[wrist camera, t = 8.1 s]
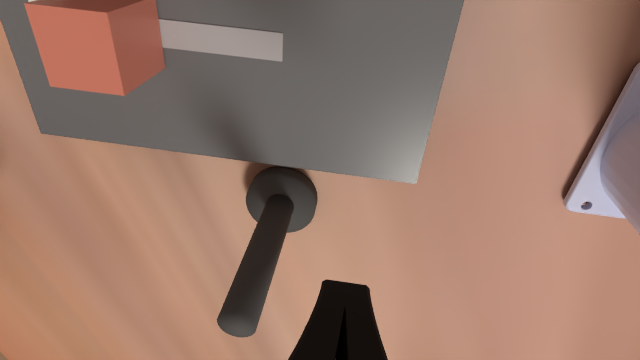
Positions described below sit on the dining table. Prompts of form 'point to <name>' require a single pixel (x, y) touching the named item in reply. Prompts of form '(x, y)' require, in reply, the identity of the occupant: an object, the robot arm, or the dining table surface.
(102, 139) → the breaker panel
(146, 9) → the knob
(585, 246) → the dining table surface
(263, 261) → the post
